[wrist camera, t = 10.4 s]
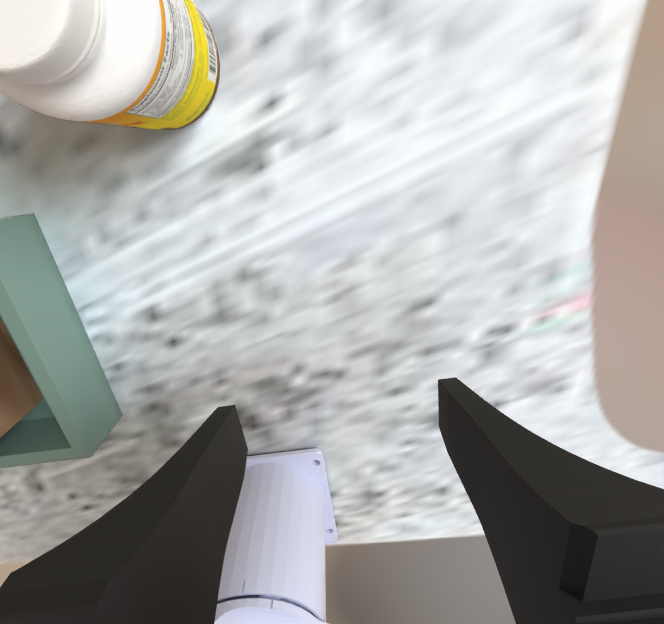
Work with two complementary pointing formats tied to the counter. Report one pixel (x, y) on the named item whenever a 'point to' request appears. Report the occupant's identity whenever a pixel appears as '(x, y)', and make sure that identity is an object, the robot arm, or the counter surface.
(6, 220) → the green crate
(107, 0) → the supplement bottle
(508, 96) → the counter surface
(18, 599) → the robot arm
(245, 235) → the counter surface
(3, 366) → the walnut crate
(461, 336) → the counter surface
